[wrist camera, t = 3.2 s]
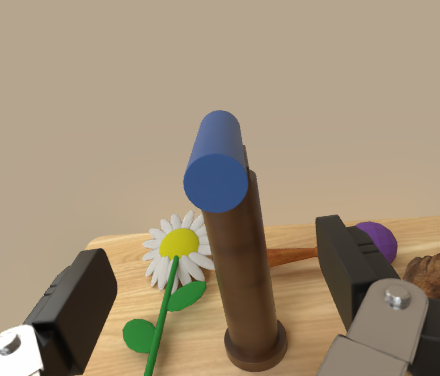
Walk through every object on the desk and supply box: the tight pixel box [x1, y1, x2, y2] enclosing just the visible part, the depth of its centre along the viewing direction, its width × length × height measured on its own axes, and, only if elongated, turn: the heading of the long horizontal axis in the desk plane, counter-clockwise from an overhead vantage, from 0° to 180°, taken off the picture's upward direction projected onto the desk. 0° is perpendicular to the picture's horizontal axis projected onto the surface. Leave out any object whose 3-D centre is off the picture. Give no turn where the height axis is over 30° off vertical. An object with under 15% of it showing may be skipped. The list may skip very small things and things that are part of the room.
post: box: [202, 145, 287, 372], centre depth 30 cm, size 6×6×21 cm
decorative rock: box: [403, 253, 440, 299], centre depth 30 cm, size 12×6×11 cm, turn 135°
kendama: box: [267, 222, 397, 267], centre depth 43 cm, size 6×6×20 cm
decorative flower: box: [123, 210, 215, 376], centre depth 40 cm, size 13×5×30 cm
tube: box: [183, 110, 248, 213], centre depth 24 cm, size 12×4×4 cm, turn 179°
